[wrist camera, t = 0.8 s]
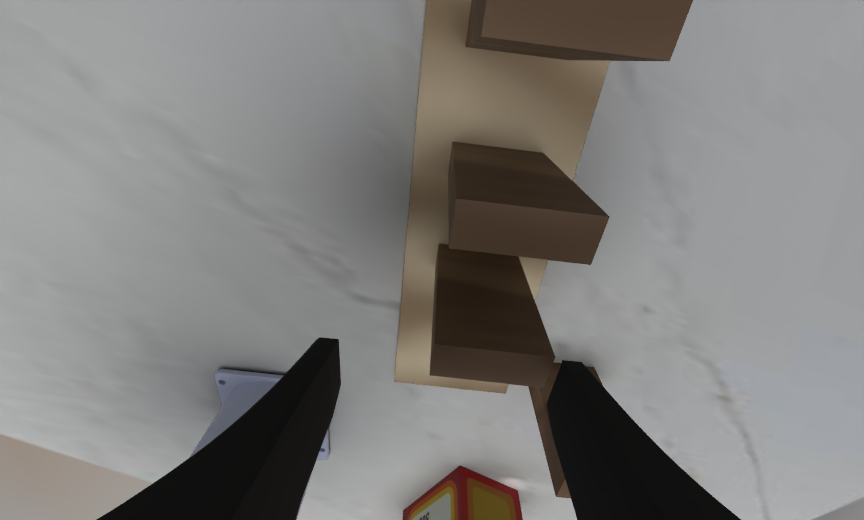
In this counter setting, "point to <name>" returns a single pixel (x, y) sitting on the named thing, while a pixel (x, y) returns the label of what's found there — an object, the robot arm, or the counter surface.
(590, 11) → the domino
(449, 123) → the light wooden board
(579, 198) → the domino
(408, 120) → the counter surface
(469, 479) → the baking soda box
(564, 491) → the domino
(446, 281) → the domino
